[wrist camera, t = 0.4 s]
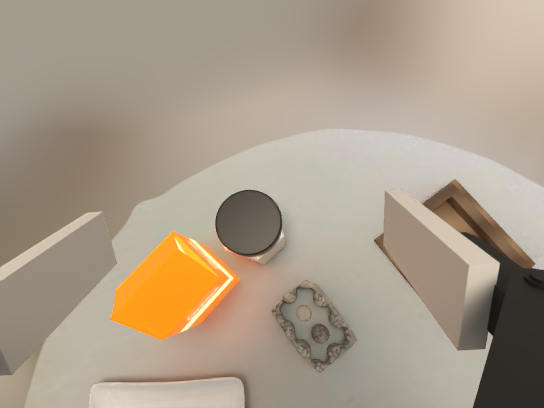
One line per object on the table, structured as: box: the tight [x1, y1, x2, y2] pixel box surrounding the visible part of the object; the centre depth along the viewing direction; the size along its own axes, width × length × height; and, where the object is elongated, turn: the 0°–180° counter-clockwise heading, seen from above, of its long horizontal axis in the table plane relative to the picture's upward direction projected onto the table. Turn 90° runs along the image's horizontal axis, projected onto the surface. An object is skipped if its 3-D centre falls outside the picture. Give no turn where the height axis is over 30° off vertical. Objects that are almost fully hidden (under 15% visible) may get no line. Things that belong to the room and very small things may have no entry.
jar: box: [215, 190, 286, 265], centre depth 44 cm, size 9×8×12 cm
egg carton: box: [272, 280, 357, 372], centre depth 44 cm, size 11×8×4 cm
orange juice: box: [110, 231, 240, 340], centre depth 39 cm, size 8×9×20 cm
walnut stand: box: [374, 179, 535, 293], centre depth 46 cm, size 16×16×3 cm
